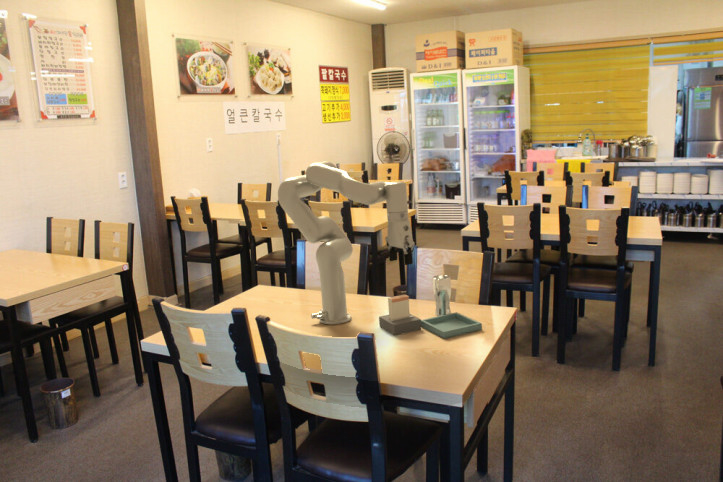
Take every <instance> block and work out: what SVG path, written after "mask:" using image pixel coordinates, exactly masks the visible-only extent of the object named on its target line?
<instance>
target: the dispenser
mask: <svg viewBox="0 0 723 482" xmlns="http://www.w3.org/2000/svg"><path fill="white" fill-rule="evenodd" d="M421 320H422V319H421V318H419V317H417V316H415V315H413V314H412V313H410V316H408V317H403V318H399V319H394V320H390V319H389V314H385V315H380V316H378V323H379V328H381V329H382V330H385V331H386V332H388V333H389V334H391V335H393V336H396V337H397V336H399V335H405V334H408V333H412V332H416V331H420V330H421V331H422V327H421Z"/></svg>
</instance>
